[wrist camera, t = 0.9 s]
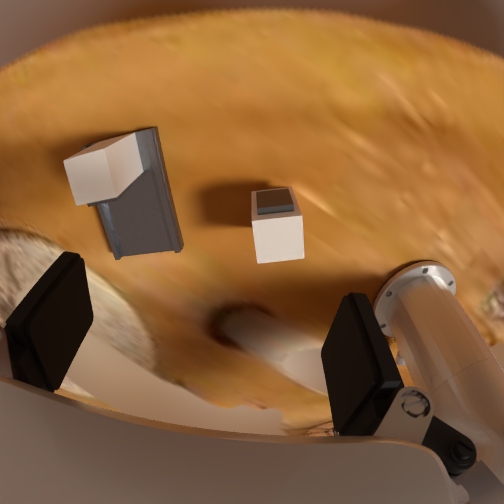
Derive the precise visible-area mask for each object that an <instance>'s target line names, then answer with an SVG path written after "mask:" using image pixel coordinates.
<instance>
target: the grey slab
mask: <svg viewBox="0 0 504 504" xmlns="http://www.w3.org/2000/svg"><path fill="white" fill-rule="evenodd" d="M131 133H135V136H136V141H137V145H138V150H139V154H140V159H141V163H142V167H143V171H144V172H143V173H142V174H140V175H139V176H138V177H137V178H136V179H135V180H134V181H133V184H134V185H133V186H132V187H131V188H130V189H129V190H128V191H127V192H126V193H125V194H124V195H123V196H122V197H121V198H120V199H119V200H118V201H114V202H109V203H104V204H99V205H97V207H98V211H99V214H100V217H101V220H102V223H103V226H104V229H105V232H106V235H107V238H108V241H109V243H110V246H111V249H112V252H113V254H114V257H115V260H120V259H121V257H123V256H131V255H139V254H147V253H156V252H164V251H172V250H174V251H175V253H179V252H181V249H183V246H184V243H183V239H182V235H181V231H180V227H179V223H178V219H177V215H176V211H175V206H174V202H173V198H172V194H171V189H170V185H169V180H168V176H167V171H166V167H165V162H164V157H163V153H162V148H161V143H160V138H159V133H158V128H157V127H152V128H148V129H144V130H140V131H135V132H131ZM131 133H127V134H131ZM127 134H123V135H127ZM123 135H120V136H123ZM116 137H119V136H116ZM112 138H115V137H112ZM112 138H108V139H112ZM108 139H105V140H108ZM101 141H104V140H101ZM101 141H98V142H101ZM98 142H94V143H91V144H88V145H85V146H83V147H82V148H81V151H82V150H84V149H86V148H88V147H90V146H92V145H94V144H96V143H98Z"/></svg>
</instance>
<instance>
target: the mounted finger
mask: <svg viewBox="0 0 504 504" xmlns="http://www.w3.org/2000/svg"><path fill="white" fill-rule="evenodd" d="M63 162H64V166H65V170H66V173H67V177H68V180H69V184H70V187H71V190H72V193H73V197H74V200H75V203H76V206H78V205H83V204H88V207H89V206H94V205H99V204H104V203H109V202H114V201H118V200H119V199H120V198H121V197H122V196H123V195H124V194H125V193H126V192H127V191H128V190H129V189H130V188H131V187H132V186H133V185H134V184H133V181H134V180H135V179H136V178H137V177H138V176H139V175H140V174H142V173H143V172H144V171H143V167H142V163H141V159H140V154H139V150H138V145H137V141H136V136H135V133H131V134H127V135H123V136H119V137H115V138H112V139H108V140H104V141H101V142H98V143H96V144H94V145H92V146H90V147H88V148H86V149H84V150H82V151H80V152H78V153H76V154H74V155H73V156H71V157H69V158H67V159H65V160H63Z"/></svg>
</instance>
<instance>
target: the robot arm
mask: <svg viewBox="0 0 504 504" xmlns="http://www.w3.org/2000/svg"><path fill="white" fill-rule="evenodd" d="M455 292H456V283H455V278H454V276H453V274H452V273H451V272H450V270H449V269H448V268H447V267H446V266H444V265H443V264H441V263H438V262H434V261H424V262H419V263H415V264H412V265H410V266H408V267H406V268H404V269H402V270H401V271H399V272H398V273H396V274H395V275H394V276H393V277H392V278H390V279H389V280H388V282H387V283H386V284H385V285H384V286H383V287H382V289H381V290H380V292H379V293H378V295H377V298H376V300H375V303H374V307H373V309H372V307H371V304H370V302H369V300H368V297H367V296H366V294H362V293H353V292H350V293H349V294H348V296H344V297H343V299H342V301H341V304H340V306H339V309H338V311H337V314H336V316H335V318H334V321H333V323H332V326H331V328H330V330H329V333H328V335H327V338H326V340H325V342H324V344H323V347H322V350H321V358H322V363H323V369H324V374H325V379H326V385H327V390H328V396H329V401H330V407H331V413H332V419H333V424H334V429H335V431H336V432H339V436H277V435H261V434H248V433H237V432H227V431H218V430H210V429H203V428H196V427H189V426H182V425H177V424H171V423H166V422H160V421H155V420H150V419H146V418H140V417H136V416H132V415H128V414H124V413H120V412H116V411H112V410H108V409H104V408H100V407H97V406H93V405H90V404H86V403H83V402H80V401H76V400H73V399H70V398H67V397H64V396H61V395H58V394H55V393H54V391H55V390H58V389H59V387H60V386H61V383H62V381H63V379H64V377H65V375H66V373H67V371H68V369H69V367H70V365H71V363H72V361H73V359H74V357H75V355H76V353H77V351H78V349H79V347H80V345H81V343H82V341H83V339H84V338H85V336H86V334H87V332H88V330H89V328H90V326H91V325H92V322H93V310H92V305H91V300H90V294H89V289H88V283H87V276H86V270H85V263H84V260H83V258H81V257H80V255H79V254H78V253H73V252H67V251H65V252H63V253H62V254H61V255H60V256H59V257H58V259H57V260H56V261H55V262H54V263H53V264H52V265H51V266H50V268H49V269H48V270H47V271H46V272H45V273H44V274H43V276H42V277H41V278H40V279H39V280H38V282H37V283H36V284H35V285H34V286H33V288H32V289H31V290H30V291H29V292H28V294H27V295H26V296H25V297H24V299H23V300H22V301H21V302H20V304H19V305H18V306H17V307H16V309H15V310H14V311H13V313H12V314H11V315H10V317H9V318H8V319H7V321H6V324H7V325H6V326H5V328H4V329H3V328H2V327H1V326H0V504H504V371H503V369H502V367H501V366H500V364H499V362H498V361H497V359H496V358H495V356H494V354H493V353H492V351H491V350H490V348H489V346H488V345H487V343H486V341H485V340H484V338H483V337H482V335H481V334H480V332H479V331H478V329H477V328H476V326H475V325H474V323H473V322H472V320H471V319H470V317H469V316H468V314H467V313H466V311H465V310H464V309H463V307H462V306H461V304H460V303H459V302H458V300H457V299H456V297H455ZM385 335H386V336H389V337H392V338H395V340H396V342H397V345H398V349H399V351H398V353H397V356H396V360H394V358H393V355H392V353H391V350H390V348H389V345H388V343H387V340H386V338H385ZM395 361H396V363H397V364H398V365H400V366H403V365H407V368H408V370H409V373H410V375H411V378H412V380H413V382H414V385H415V387H413V386H408V387H405V386H404V384H403V381H402V378H401V376H400V373H399V370H398V368H397V365H396V363H395Z"/></svg>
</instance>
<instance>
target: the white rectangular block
mask: <svg viewBox="0 0 504 504" xmlns="http://www.w3.org/2000/svg"><path fill="white" fill-rule="evenodd" d="M251 200H252V227H253V234H254V241H255V248H256V255H257V263H258V264H259V263H268V262H277V261H286V260H295V259H304V239H303V221H302V214H301V211H300V208H299V205H298V203H297V200H296V197H295V195H294V192H293V189H292V187H287V188H277V189H268V190H259V191H251Z"/></svg>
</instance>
